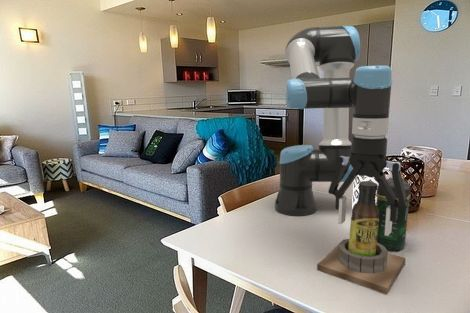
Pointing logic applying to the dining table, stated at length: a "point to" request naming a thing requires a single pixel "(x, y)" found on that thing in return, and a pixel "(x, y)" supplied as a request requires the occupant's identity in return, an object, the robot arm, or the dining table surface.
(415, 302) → the dining table surface
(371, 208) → the sauce bottle
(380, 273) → the ring collar
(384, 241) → the coffee jar
